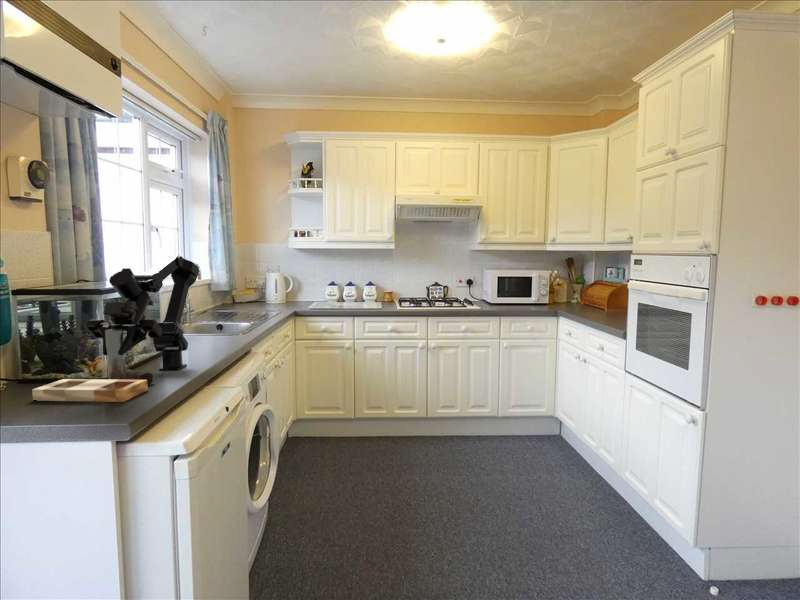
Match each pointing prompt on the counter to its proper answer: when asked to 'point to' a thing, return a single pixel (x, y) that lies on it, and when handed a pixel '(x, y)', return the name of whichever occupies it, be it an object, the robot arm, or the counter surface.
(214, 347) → the counter surface
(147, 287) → the robot arm
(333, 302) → the counter surface
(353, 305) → the counter surface
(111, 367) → the steel peg
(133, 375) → the brown rough long piece
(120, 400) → the rail board
